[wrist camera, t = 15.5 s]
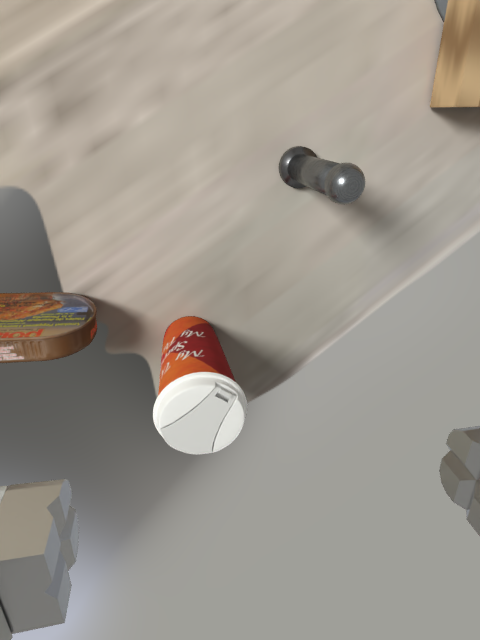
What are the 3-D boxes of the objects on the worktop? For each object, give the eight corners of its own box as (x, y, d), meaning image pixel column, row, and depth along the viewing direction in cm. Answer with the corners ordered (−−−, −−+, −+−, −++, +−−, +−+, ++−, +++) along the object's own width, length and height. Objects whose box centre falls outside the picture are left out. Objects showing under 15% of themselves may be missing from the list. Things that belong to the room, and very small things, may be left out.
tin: (101, 291, 42) (89, 329, 34) (103, 320, 43) (92, 362, 36) (-70, 293, 39) (-123, 335, 31) (-61, 324, 40) (-111, 371, 33)
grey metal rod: (279, 146, 39) (330, 158, 28) (317, 146, 39) (381, 158, 28) (278, 187, 40) (325, 214, 29) (314, 186, 41) (373, 212, 30)
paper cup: (180, 293, 43) (190, 365, 31) (238, 329, 46) (269, 407, 34) (138, 350, 45) (132, 439, 33) (197, 381, 48) (212, 473, 36)
